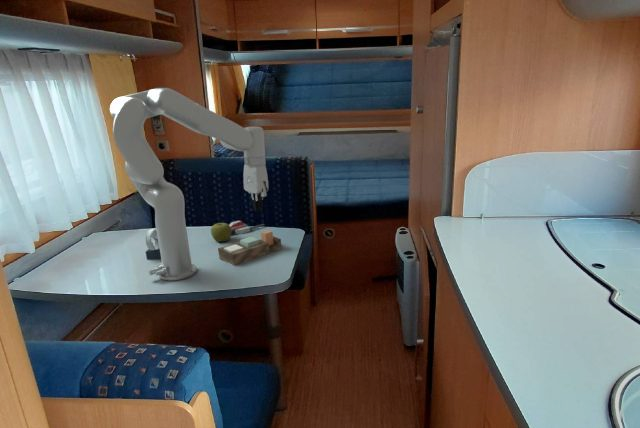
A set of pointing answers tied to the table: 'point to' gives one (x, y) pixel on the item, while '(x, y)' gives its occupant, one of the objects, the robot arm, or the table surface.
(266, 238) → the slider
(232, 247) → the button
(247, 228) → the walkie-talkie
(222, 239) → the apple
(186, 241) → the robot arm
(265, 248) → the brown wooden tray
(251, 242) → the button
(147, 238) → the white sculpture
